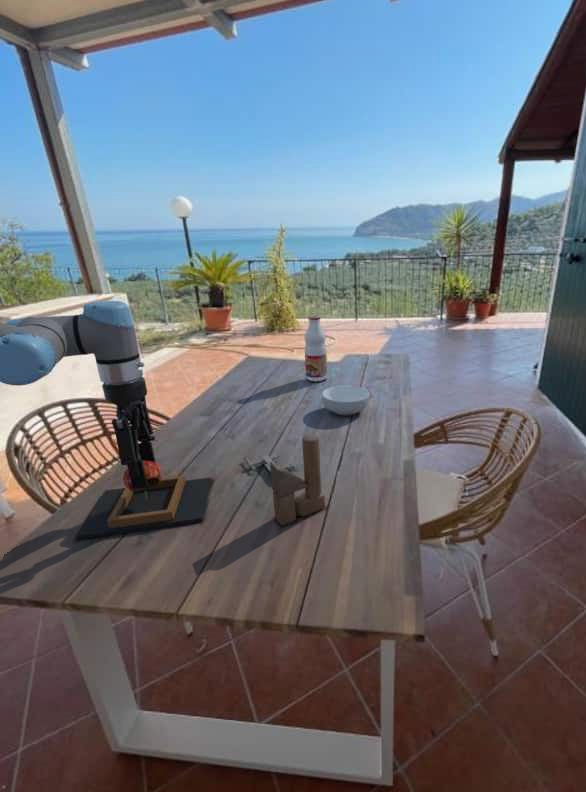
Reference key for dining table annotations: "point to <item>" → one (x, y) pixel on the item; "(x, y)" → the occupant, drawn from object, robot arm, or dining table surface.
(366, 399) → the cereal bowl
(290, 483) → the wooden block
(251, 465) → the clamp
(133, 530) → the back pad
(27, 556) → the dining table surface
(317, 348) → the fruit juice
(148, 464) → the red round lump
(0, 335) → the robot arm
